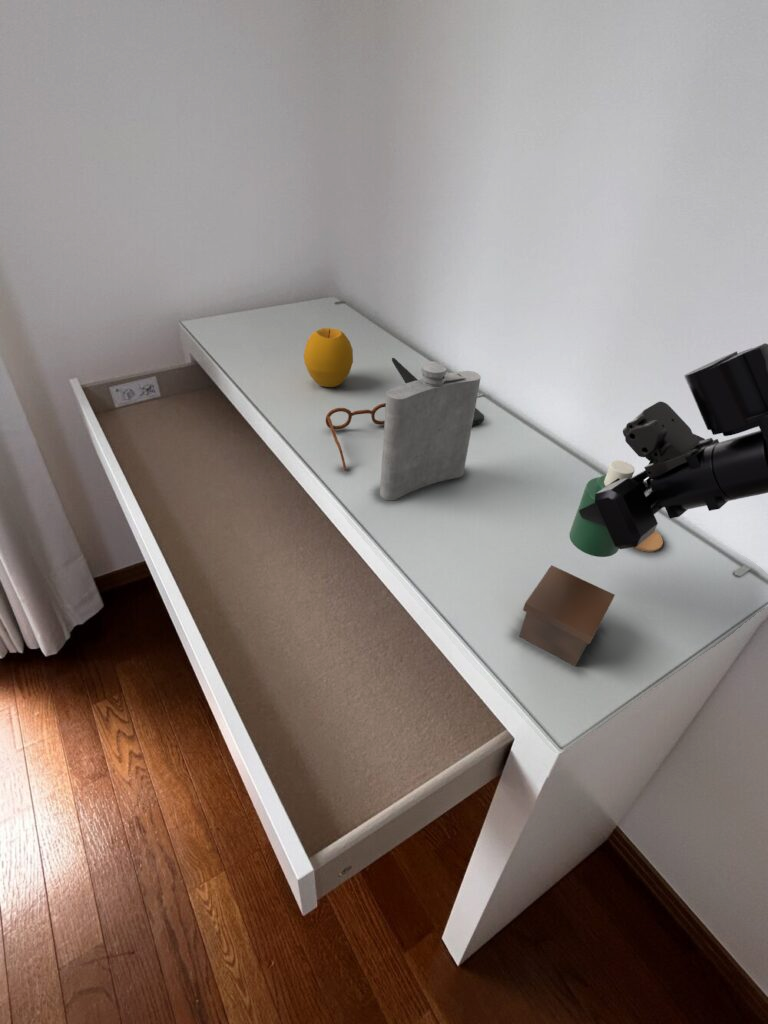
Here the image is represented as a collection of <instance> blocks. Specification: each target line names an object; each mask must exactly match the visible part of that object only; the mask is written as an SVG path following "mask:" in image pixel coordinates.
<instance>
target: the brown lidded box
mask: <svg viewBox="0 0 768 1024" xmlns="http://www.w3.org/2000/svg"><path fill="white" fill-rule="evenodd" d="M615 596H616V594H614V593H612V592H610V591H608V590H606V589H603V588H601V587H599V586H597V585H595V584H593V583H591V582H589V581H587V580H584V579H582V578H580V577H578V576H576V575H574V574H572V573H569V572H567V571H565V570H563V569H561V568H559V567H557V566H554V565H550V566H549V568H548V569H547V570H546V572H545V573H544V575H543V576H542V578H541V579H540V581H539V582H538V584H537V585H536V586H535V588H534V589H533V591H532V592H531V594H530V595H529V597H528V598H527V599H526V601H525V602H524V605H523V608H522V611H523V612H525V616H524V619H523V622H522V625H521V628H520V630H519V633H518V637H519V638H521V639H523V640H525V641H527V642H529V643H530V644H533V645H535V646H536V647H538V648H540V649H542V650H544V651H545V652H548V653H550V654H551V655H553V656H555V657H557V658H559V659H560V660H563V661H564V662H566V663H568V664H569V665H572V666H574V667H576V666H577V664H578V663H579V660H580V659H581V657H582V655H583V653H584V651H585V649H586V647H587V646H588V645H590V644H591V642H592V641H593V638H594V637H595V635H596V633H597V631H598V630H599V627H600V625H601V623H602V621H603V620H604V618H605V616H606V614H607V612H608V611H609V608H610V606H611V604H612V602H613V600H614V598H615Z"/></svg>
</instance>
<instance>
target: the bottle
mask: <svg viewBox="0 0 768 1024" xmlns="http://www.w3.org/2000/svg"><path fill="white" fill-rule="evenodd" d="M634 473H635V467H634V466H633V465H632V464H631V463H629V462H627V461H624V460H613V461H611V462H610V464H609V467H608V469H607V472H606V474H604V475H601V476H598V477H593V478H591V479H589V480H588V481H587V483H586V485H585V487H584V490H583V493H582V496H581V498H580V502H579V504H578V508H577V510H576V512H575V516H574V519H573V521H572V525H571V527H570V529H569V530H570V531H569V533H568V534H569V540H570V541H571V543H572V545H573V546H574V547H575V548H576V549H578V550H579V551H581V552H582V553H584V554H586V555H589V556H592V557H597V558H606V557H612V556H614V555H615V554H616V553H618V551H619V550H620V549H619V548H617V547H615V545H614V543H613V541H612V538H611V536H610V534H609V532H608V530H607V527H606V526H603V525H600V524H597V523H594V522H591V521H588V520H585V519H583V518H582V517H581V515H580V513H579V510H580V509H582V508H584V507H586V506H588V505H590V504H592V503H594V502H595V494H596V493H597V492H599V491H600V490H602V489H603V488H605V487H606V486H607V485H609V484H610V483H612V482H613V481H615V480H616V479H618V478H619V479H620V480H622V479H625V478H630V479H631V478H632V477H633V476H634Z"/></svg>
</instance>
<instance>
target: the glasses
mask: <svg viewBox="0 0 768 1024" xmlns="http://www.w3.org/2000/svg"><path fill="white" fill-rule="evenodd" d="M382 408H386V402H384V403H380V404H377V405H376V406H374V407H373V408H372V410H371V409H360V410H359V409H358V410H354V411H352V410H350V409H348V408H346V407H335V408H333V409H331V410H330V411H328V412H327V414H326V416H325V425H326V426H327V428H329V429H330V431H331V434H332V437H333V439H334V442H335V444H336V446H337V448H338V451H339V454H340V458H341V462H342V467H343V471H347V469H348V468H347V464H346V461H345V457H344V453H343V449H342V446H341V443H340V441H339V440H338V437H337V433H336V431H335V430H342V429H345V428H347V427H348V426H349V425H350V424H351V421H352V418H353V416H357V415H365V414H366V415H367V414H370V417H371V420H372V422H373V423H374V424H376V425H379V426H380V425H384V424H385V420H378V419H376V412H378V410H380V409H382ZM339 412H343V413H346V415H348V416H347V420H346V422H344V423H343V424H340V425H333V422H332V419H331V416H332V415H333V414H336V413H339Z"/></svg>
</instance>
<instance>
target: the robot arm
mask: <svg viewBox="0 0 768 1024" xmlns="http://www.w3.org/2000/svg"><path fill="white" fill-rule="evenodd" d="M683 377H684V379H685V381H686V384H687V386H688V388H689V391H690V393H691V396H692V397H693V399H694V402H695V404H696V407H697V409H698V411H699V414H700V415H701V418H702V420H703V422H704V425H705V428H706V430H707V431H711V434H712V435H713V436H715V435H720V434H722V435H723V437H729V436H730V437H731V436H733V435H737V434H740V433H743V432H746V431H749V430H752V429H755V428H759V430H757V431H753V432H750V433H747V434H742V435H740V436H737V437H733V438H730V439H727V440H723V441H719V438H715V439H713V437H708V438H704V437H702V436H699V435H698V434H696V433H694V432H693V431H692V429H691V427H690V426H689V425H688V424H687V423H686V422H685V421H684V419H682V417H681V416H679V415H678V413H676V411H675V410H674V409H673V408H672V407H671V406H670V405H669V404H668V403H667V402H664V401H657V402H655V403H653V404H652V405H650V406H649V407H647V408H645V409H644V410H642V411H641V412H640V413H639V414H638V415H637V416H636V417H635V418H634V419H633V420H631V421H629V422H628V423H627V424H626V426H625V427H624V428H623V429H622V435H623V436H624V440H625V443H626V444H627V445H628V446H629V447H630V448H631V450H632V451H633V452H634V453H635V454H636V455H637V456H638V457H640V458H645V459H646V460H647V461H649V462H648V464H647V465H645V466H644V467H643V468H644V470H642V471H640V472H639V473H637V474H636V475H633V476H632V478H631V479H630V478H625V479H622V480H620V479H619V478H618V479H616V480H615V481H613V482H612V483H610V484H609V485H607V486H606V487H605V488H603V489H602V490H600V491H599V492H597V493H596V494H595V502H594V503H592V504H590V505H588V506H586V507H584V508H582V509H580V510H579V513H580V515H581V517H582V518H583V519H585V520H588V521H591V522H594V523H597V524H600V525H603V526H606V527H607V530H608V532H609V534H610V536H611V538H612V541H613V543H614V545H615V547H617V548H619V550H623V549H624V550H625V549H626V550H627V549H631V548H632V549H633V547H637V546H638V545H639V544H640V543H642V542H643V541H644V540H645V539H647V538H648V537H649V536H650V535H651V534H653V533H654V530H656V529H657V526H658V524H659V523H658V520H657V518H656V516H655V514H656V513H658V512H660V511H661V510H662V509H664V508H665V511H666V514H667V516H668V517H669V519H674V518H680V517H681V516H682V515H684V513H686V512H687V511H689V510H692V509H696V508H701V507H707V509H708V511H709V512H710V511H715V510H720V509H721V508H722V507H723V506H724V505H725V504H727V503H728V502H730V501H735V500H739V499H740V500H741V499H745V498H750V497H754V496H759V495H764V494H768V343H765V342H764V343H762V344H760V345H757V346H754V347H751V348H747V349H745V350H743V351H739V352H738V351H734V352H732V353H729V354H727V355H724V356H721V357H720V358H717V359H715V360H713V361H711V362H708V363H706V364H704V365H702V366H700V367H698V368H695V369H694V370H691V371H690V372H688V373H686V374H684V375H683Z"/></svg>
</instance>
